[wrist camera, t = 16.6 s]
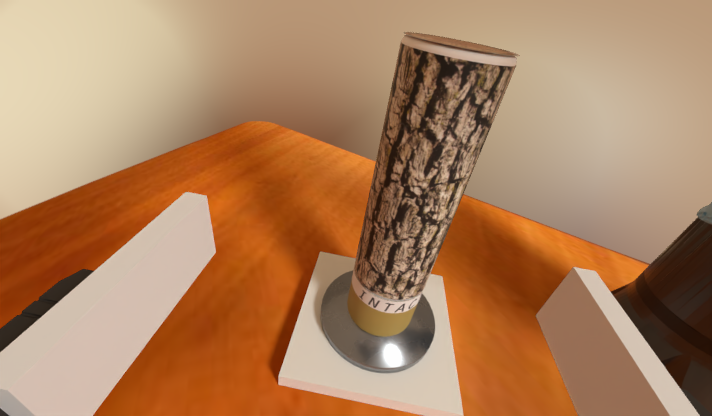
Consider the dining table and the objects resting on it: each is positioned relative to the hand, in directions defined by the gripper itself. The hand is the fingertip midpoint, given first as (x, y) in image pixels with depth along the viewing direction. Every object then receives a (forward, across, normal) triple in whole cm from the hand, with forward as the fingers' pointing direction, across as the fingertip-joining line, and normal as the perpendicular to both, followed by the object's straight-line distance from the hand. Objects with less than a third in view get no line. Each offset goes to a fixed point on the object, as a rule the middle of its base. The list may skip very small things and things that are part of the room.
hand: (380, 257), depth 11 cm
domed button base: (+12, +3, -21) cm, 25 cm away
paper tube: (+12, +3, -19) cm, 23 cm away
